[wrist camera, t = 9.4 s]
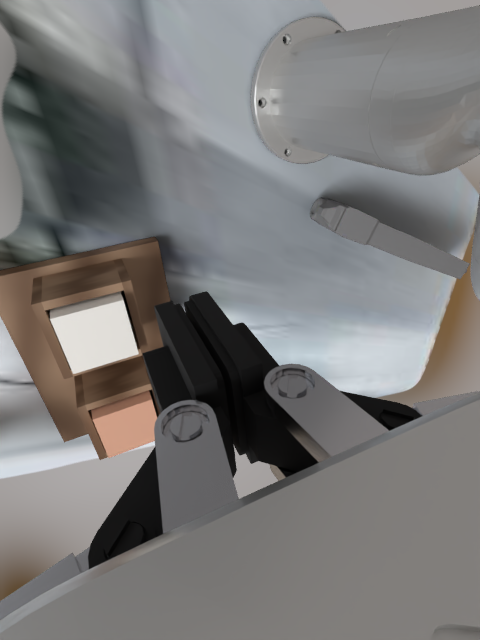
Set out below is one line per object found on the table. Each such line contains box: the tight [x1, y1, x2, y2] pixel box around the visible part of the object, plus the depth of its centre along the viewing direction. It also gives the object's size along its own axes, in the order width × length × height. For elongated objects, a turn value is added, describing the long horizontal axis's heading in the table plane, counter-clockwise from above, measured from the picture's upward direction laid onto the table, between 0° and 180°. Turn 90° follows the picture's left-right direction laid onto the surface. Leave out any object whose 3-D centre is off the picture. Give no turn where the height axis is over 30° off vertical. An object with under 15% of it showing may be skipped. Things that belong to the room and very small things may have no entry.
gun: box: [310, 198, 469, 279], centre depth 49 cm, size 3×25×15 cm, turn 66°
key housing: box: [0, 237, 170, 460], centre depth 41 cm, size 16×22×7 cm
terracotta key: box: [91, 390, 157, 458], centre depth 42 cm, size 6×6×5 cm
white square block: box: [50, 291, 139, 374], centre depth 36 cm, size 6×6×5 cm
